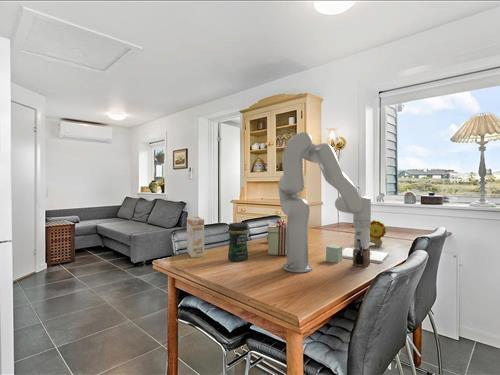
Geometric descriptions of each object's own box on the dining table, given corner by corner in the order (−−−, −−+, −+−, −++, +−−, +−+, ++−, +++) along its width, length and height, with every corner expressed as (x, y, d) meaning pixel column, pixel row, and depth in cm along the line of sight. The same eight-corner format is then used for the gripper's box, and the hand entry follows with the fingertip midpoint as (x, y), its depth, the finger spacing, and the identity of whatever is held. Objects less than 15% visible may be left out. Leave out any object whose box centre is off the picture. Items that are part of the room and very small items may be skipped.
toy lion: (357, 244, 177) (357, 219, 176) (359, 242, 181) (359, 218, 181) (385, 247, 168) (385, 221, 168) (386, 245, 173) (386, 220, 172)
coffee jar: (232, 263, 138) (232, 224, 138) (226, 259, 145) (225, 222, 145) (250, 260, 143) (250, 222, 143) (243, 256, 150) (242, 220, 150)
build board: (381, 263, 135) (381, 260, 135) (335, 256, 148) (335, 254, 148) (388, 255, 150) (388, 252, 150) (346, 249, 163) (346, 247, 163)
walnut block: (366, 267, 129) (366, 251, 129) (352, 264, 133) (353, 249, 133) (369, 264, 134) (370, 249, 134) (356, 261, 138) (356, 247, 138)
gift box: (303, 255, 151) (303, 222, 151) (267, 255, 151) (267, 223, 151) (298, 248, 168) (298, 218, 168) (266, 248, 168) (266, 218, 168)
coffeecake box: (205, 256, 151) (204, 219, 150) (191, 258, 148) (190, 220, 148) (199, 250, 165) (198, 216, 164) (186, 251, 162) (186, 216, 162)
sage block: (338, 263, 137) (338, 248, 137) (326, 261, 141) (326, 246, 140) (342, 260, 142) (342, 246, 142) (330, 258, 145) (330, 244, 145)
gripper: (365, 226, 124) (365, 268, 124) (374, 221, 138) (374, 259, 138) (347, 224, 128) (347, 265, 129) (358, 220, 143) (358, 257, 143)
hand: (361, 261), depth 134 cm, fingers closed on walnut block, 6 cm apart
